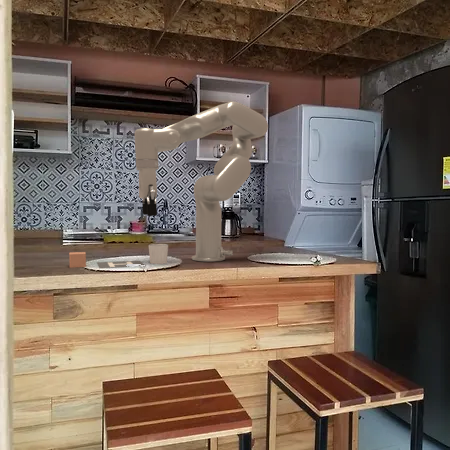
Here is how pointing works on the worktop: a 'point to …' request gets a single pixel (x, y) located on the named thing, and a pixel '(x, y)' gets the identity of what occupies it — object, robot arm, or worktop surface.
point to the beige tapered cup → (158, 253)
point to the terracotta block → (77, 259)
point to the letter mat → (117, 264)
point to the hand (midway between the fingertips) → (149, 215)
